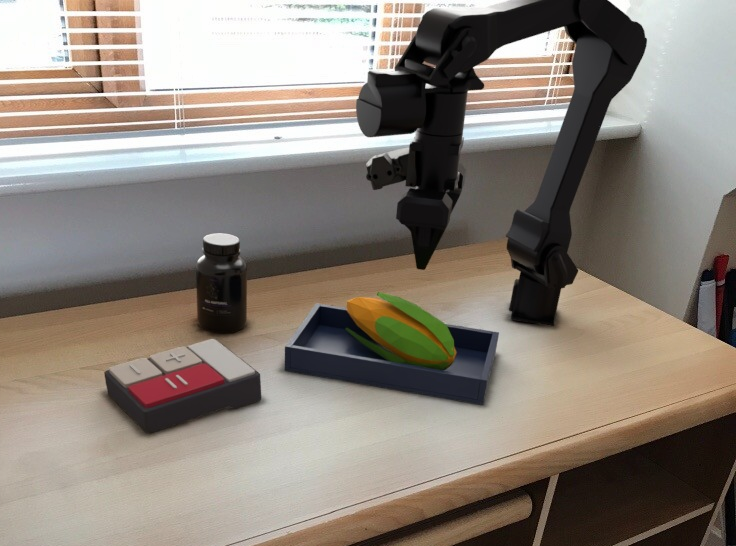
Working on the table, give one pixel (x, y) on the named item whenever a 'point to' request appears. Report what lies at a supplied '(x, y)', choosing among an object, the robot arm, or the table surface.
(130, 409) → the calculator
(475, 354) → the tray
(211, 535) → the table surface
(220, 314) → the supplement bottle
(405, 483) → the table surface
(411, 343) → the corn
